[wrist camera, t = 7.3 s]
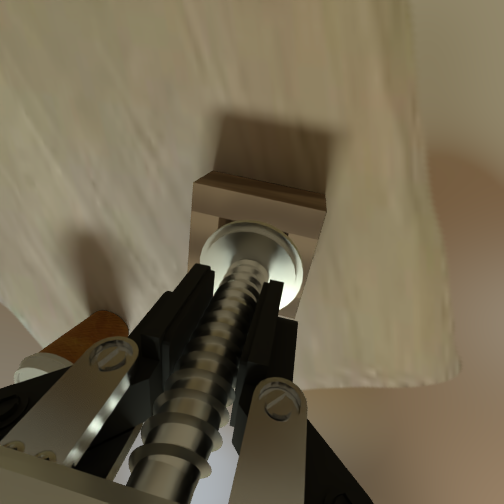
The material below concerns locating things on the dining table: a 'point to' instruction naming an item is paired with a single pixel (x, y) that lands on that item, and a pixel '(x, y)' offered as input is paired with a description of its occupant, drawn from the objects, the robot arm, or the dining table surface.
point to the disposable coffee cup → (71, 345)
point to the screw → (212, 359)
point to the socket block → (256, 215)
